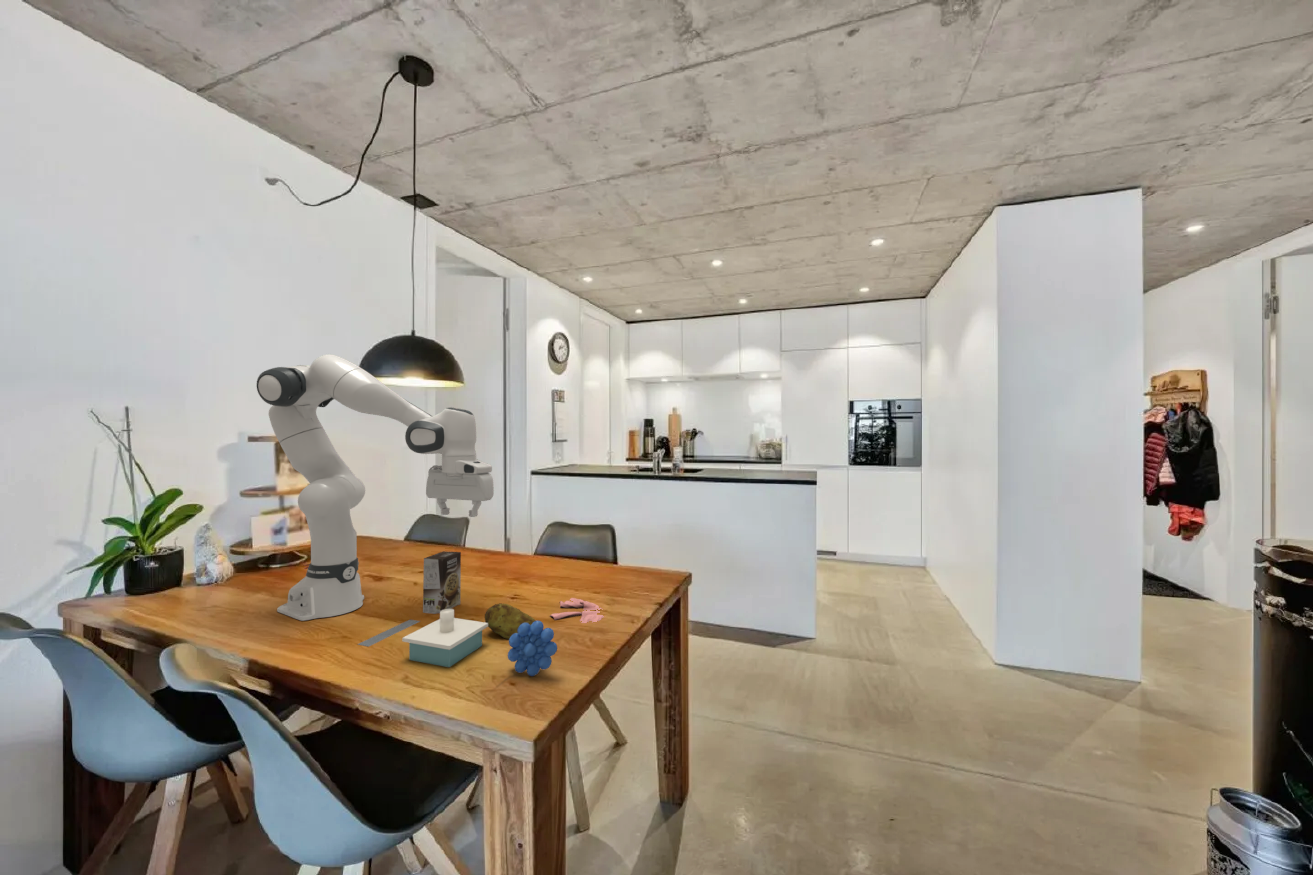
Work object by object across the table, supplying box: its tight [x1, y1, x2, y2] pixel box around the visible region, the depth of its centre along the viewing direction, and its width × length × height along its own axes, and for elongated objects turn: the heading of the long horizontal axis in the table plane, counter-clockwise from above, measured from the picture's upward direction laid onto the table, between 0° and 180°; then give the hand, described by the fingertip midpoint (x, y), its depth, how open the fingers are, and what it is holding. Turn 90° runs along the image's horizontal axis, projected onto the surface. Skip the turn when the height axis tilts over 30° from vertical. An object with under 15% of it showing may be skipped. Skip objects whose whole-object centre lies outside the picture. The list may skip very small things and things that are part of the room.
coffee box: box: [422, 551, 462, 615], centre depth 137 cm, size 9×6×16 cm
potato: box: [484, 603, 536, 640], centre depth 119 cm, size 8×13×8 cm, turn 67°
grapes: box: [507, 619, 558, 677], centre depth 101 cm, size 12×7×12 cm, turn 75°
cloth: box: [549, 597, 605, 624], centre depth 137 cm, size 20×22×2 cm
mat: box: [356, 619, 421, 648], centre depth 118 cm, size 16×16×1 cm
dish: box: [408, 630, 483, 668], centre depth 109 cm, size 11×11×5 cm
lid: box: [401, 608, 489, 650], centre depth 109 cm, size 13×13×5 cm
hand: (459, 515), depth 129 cm, fingers open, 8 cm apart
